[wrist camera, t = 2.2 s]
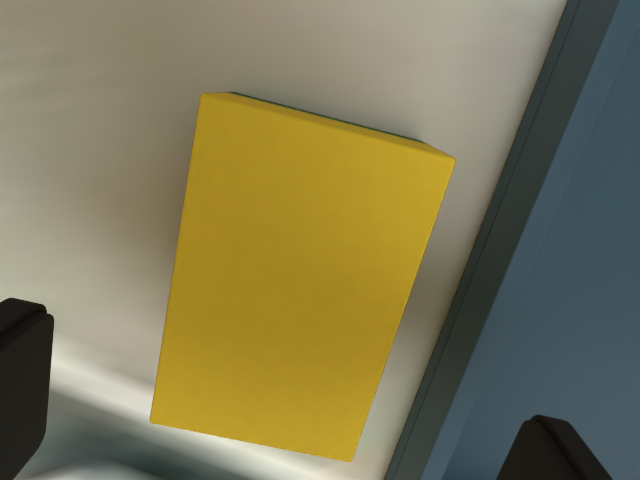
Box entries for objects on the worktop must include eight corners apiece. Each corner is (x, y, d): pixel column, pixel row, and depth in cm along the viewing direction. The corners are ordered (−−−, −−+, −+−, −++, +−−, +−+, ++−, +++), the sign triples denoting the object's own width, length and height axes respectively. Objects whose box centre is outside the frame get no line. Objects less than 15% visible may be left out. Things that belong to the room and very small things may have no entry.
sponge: (344, 385, 18) (351, 463, 14) (185, 351, 17) (148, 423, 14) (422, 141, 15) (458, 158, 11) (231, 91, 14) (199, 92, 11)
